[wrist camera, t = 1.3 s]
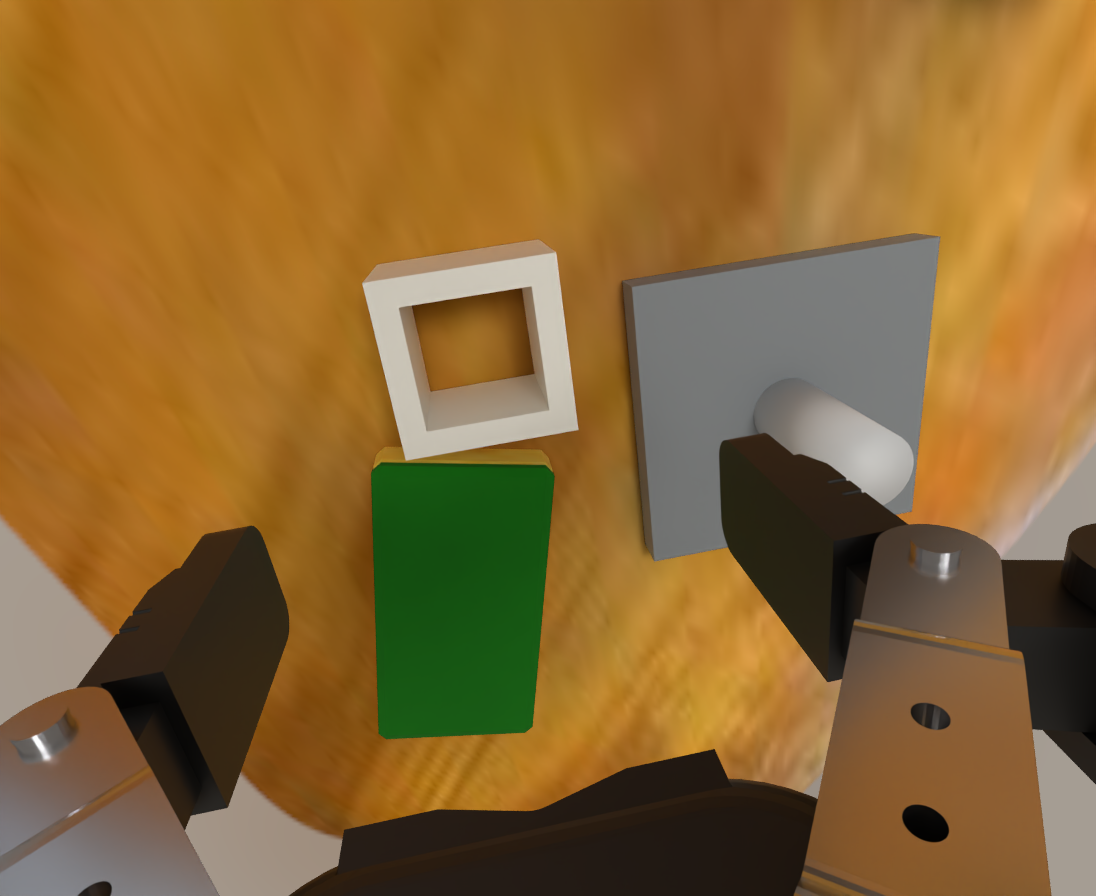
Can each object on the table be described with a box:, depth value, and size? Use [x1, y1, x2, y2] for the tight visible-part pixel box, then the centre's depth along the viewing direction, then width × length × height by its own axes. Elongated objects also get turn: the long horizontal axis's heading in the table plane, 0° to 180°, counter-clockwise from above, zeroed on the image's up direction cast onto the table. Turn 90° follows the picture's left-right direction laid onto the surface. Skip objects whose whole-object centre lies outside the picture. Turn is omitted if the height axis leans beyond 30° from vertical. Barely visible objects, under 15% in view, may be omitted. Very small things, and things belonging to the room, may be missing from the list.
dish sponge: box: [371, 447, 555, 739], centre depth 29 cm, size 7×14×2 cm, turn 175°
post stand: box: [622, 233, 940, 561], centre depth 25 cm, size 12×12×8 cm
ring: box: [362, 239, 578, 461], centre depth 23 cm, size 6×6×4 cm
